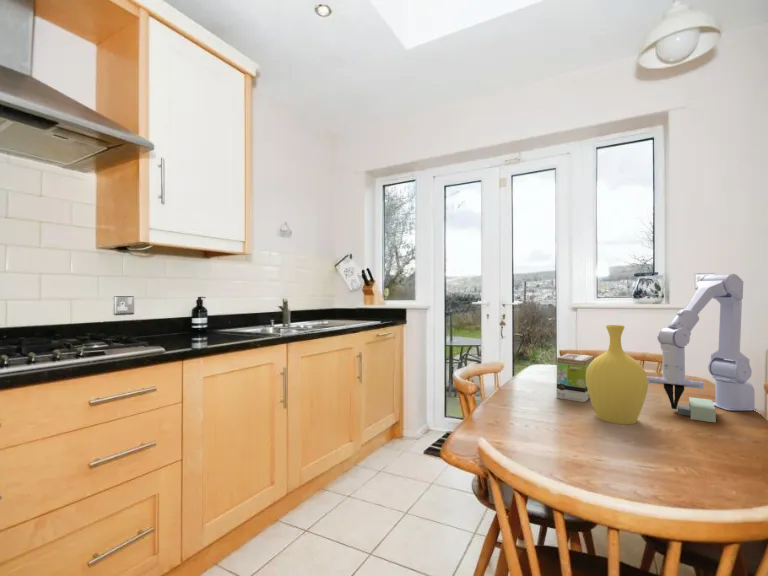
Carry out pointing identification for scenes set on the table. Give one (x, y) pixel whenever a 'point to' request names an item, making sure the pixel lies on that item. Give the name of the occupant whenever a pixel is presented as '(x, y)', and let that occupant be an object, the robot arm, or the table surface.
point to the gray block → (683, 410)
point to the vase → (616, 382)
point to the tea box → (573, 377)
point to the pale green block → (702, 409)
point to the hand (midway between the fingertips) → (674, 408)
